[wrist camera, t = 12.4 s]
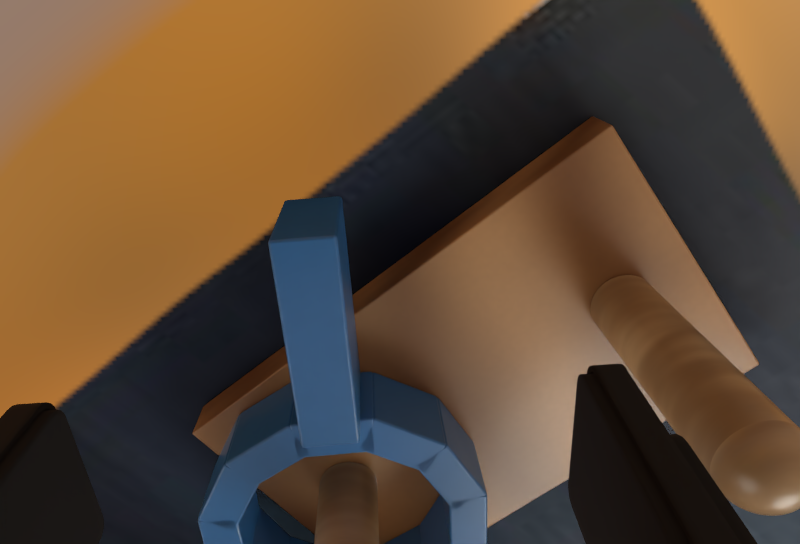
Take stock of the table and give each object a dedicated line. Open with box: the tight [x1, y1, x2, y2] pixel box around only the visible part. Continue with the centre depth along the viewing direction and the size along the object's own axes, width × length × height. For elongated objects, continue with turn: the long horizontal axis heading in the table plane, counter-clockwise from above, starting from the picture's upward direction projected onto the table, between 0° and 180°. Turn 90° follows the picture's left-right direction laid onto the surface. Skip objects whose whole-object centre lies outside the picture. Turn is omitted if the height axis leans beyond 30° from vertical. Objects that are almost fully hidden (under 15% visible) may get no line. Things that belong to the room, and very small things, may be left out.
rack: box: [193, 117, 800, 544], centre depth 16 cm, size 16×10×10 cm, turn 128°
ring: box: [198, 196, 487, 544], centre depth 18 cm, size 15×9×3 cm, turn 4°
